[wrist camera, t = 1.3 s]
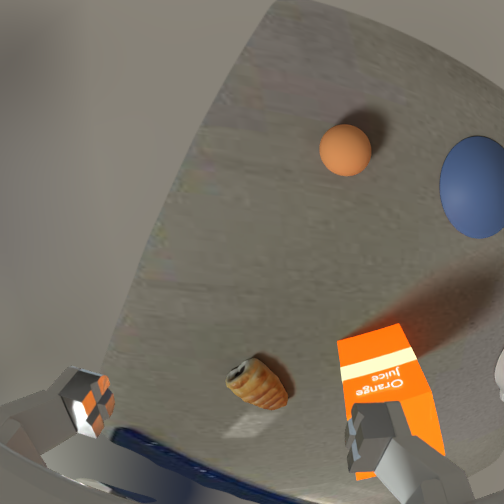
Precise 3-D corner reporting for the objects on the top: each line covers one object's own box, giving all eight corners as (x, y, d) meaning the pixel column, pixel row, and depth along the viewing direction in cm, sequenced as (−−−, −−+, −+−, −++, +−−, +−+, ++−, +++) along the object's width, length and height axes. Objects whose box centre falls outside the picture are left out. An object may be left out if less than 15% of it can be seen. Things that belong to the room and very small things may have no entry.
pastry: (300, 388, 44) (298, 406, 41) (268, 409, 46) (265, 426, 43) (253, 351, 44) (248, 367, 40) (222, 375, 46) (216, 391, 42)
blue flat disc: (522, 153, 30) (523, 153, 29) (505, 246, 34) (506, 246, 33) (447, 123, 31) (448, 123, 31) (429, 226, 35) (430, 227, 35)
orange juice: (405, 366, 41) (443, 474, 22) (347, 382, 43) (359, 497, 24) (399, 321, 39) (448, 430, 20) (336, 340, 41) (349, 459, 22)
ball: (369, 132, 33) (380, 128, 28) (361, 179, 35) (371, 182, 30) (321, 122, 34) (325, 116, 28) (314, 169, 35) (317, 171, 30)
